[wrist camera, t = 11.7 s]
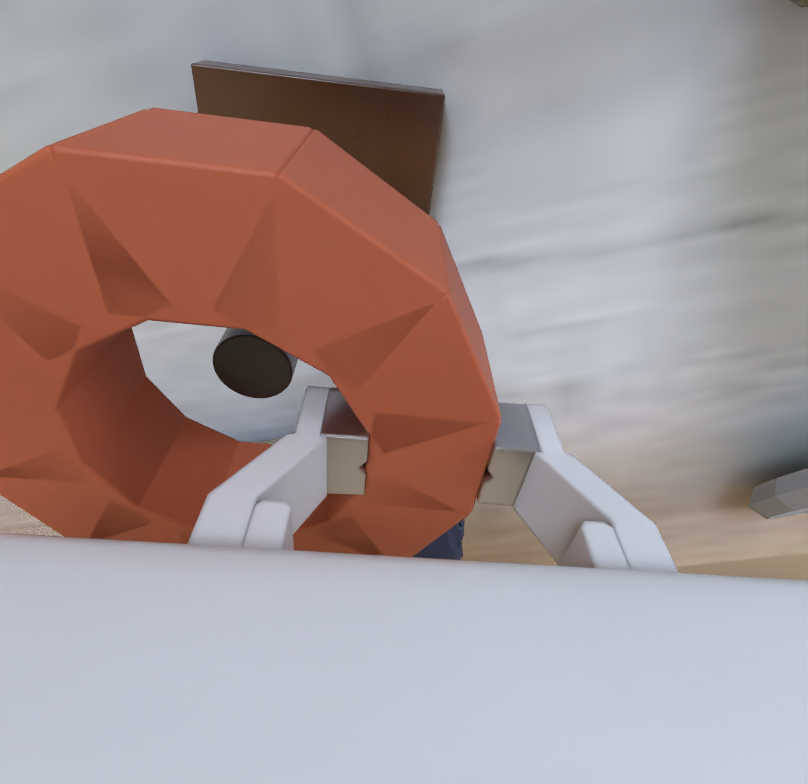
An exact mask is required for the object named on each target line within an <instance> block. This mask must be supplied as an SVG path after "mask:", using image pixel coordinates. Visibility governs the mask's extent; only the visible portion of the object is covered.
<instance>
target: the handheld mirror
mask: <svg viewBox="0 0 808 784" xmlns="http://www.w3.org/2000/svg"><path fill="white" fill-rule="evenodd" d="M749 508H751V509H752V510H754V511H755V512H757V513H758V514H760V515H761V516H763V517H764V518H766V519H772V518H780V517H785V516H791V515H796V514H802V513H807V512H808V468H807V469H803V470H800V471H797V472H794V473H791V474H787V475H784V476H781V477H778V478H775V479H772V480H770V481H767V482H765V483H762V484H760V485H757V486H755V487H754V489H753V490H752V494H751V498H750V502H749Z"/></svg>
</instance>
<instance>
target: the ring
mask: <svg viewBox="0 0 808 784" xmlns="http://www.w3.org/2000/svg"><path fill="white" fill-rule="evenodd" d="M147 320H153V321H164V322H174V323H184V324H195V325H205V326H216V327H226V328H236V329H245V330H247V331H249V332H251V333H253V334H255V335H256V336H258V337H260V338H262V339H264V340H265V341H267V342H269V343H271V344H273V345H274V346H276V347H278V348H280V349H282V350H284V351H285V352H287V353H289V354H291V355H293V356H294V357H296V358H298V359H300V360H302V361H304V362H305V363H307V364H309V365H311V366H313V367H314V368H316V369H318V370H320V371H322V372H324V373H325V374H327V375H329V376H330V377H331V379H332V380H333V382H334V383H335V385H336V386H337V388H338V389H339V391H340V392H341V394H342V395H343V397H344V398H345V400H346V401H347V403H348V404H349V406H350V407H351V409H352V410H353V412H354V413H355V415H356V416H357V418H358V419H359V421H360V422H361V423H362V425H363V426H364V428H365V429H366V431H367V432H369V438H368V453H367V461H366V462H365V466H366V478H365V489H364V495H354V494H329V493H327V496H326V497H325V498H324V500H323V501H322V502H321V503H320V504H319V505H318V506H317V508H316V509H315V510H314V511H313V512H312V513H311V515H310V516H309V517H308V518H307V519H306V520H305V521H304V523H303V524H302V525H301V526H300V527H299V528H298V529H297V531H296V532H295V533H294V534H293V543H294V550H299V551H316V552H333V553H350V554H367V555H384V556H401V557H413V556H414V555H415V554H417V553H418V552H419V551H421V550H422V549H423V548H425V547H426V546H427V545H429V544H430V543H432V542H433V541H434V540H436V539H437V538H438V537H440V536H441V535H442V534H444V533H445V532H446V531H448V530H449V529H450V528H452V527H453V526H455V525H456V524H457V523H459V522H460V521H461V520H463V519H464V518H465V517H467V516H468V515H469V514H470V512H472V509H473V506H474V503H475V500H476V497H477V493H478V490H479V486H480V483H481V480H482V477H483V475H484V473H485V469H486V466H487V461H488V458H489V455H490V452H491V449H492V446H493V443H494V441H495V439H496V436H497V433H498V430H499V427H500V424H501V413H500V408H499V404H498V400H497V395H496V391H495V387H494V383H493V378H492V374H491V370H490V365H489V361H488V357H487V352H486V348H485V344H484V339H483V335H482V331H481V329H480V326H479V324H478V321H477V319H476V316H475V314H474V311H473V308H472V306H471V303H470V301H469V298H468V296H467V293H466V290H465V288H464V285H463V283H462V280H461V278H460V275H459V272H458V270H457V267H456V265H455V262H454V260H453V257H452V254H451V252H450V249H449V247H448V244H447V242H446V239H445V237H444V234H443V231H442V229H441V227H440V226H439V225H438V223H437V221H436V220H434V219H433V218H432V217H430V216H429V215H428V214H426V213H425V212H424V211H423V210H421V209H420V208H419V207H417V206H416V205H415V204H413V203H412V202H411V201H409V200H408V199H407V198H406V197H404V196H403V195H402V194H400V193H399V192H398V191H396V190H395V189H394V188H392V187H391V186H390V185H389V184H387V183H386V182H385V181H383V180H382V179H381V178H379V177H378V176H377V175H376V174H374V173H373V172H372V171H370V170H369V169H368V168H366V167H365V166H364V165H362V164H361V163H360V162H359V161H357V160H356V159H355V158H353V157H352V156H351V155H349V154H348V153H347V152H345V151H344V150H343V149H342V148H340V147H339V146H338V145H336V144H335V143H334V142H332V141H331V140H330V139H328V138H327V137H326V136H325V135H323V134H322V133H321V132H319V131H318V130H313V129H311V128H310V127H304V126H296V125H288V124H280V123H272V122H264V121H256V120H248V119H240V118H232V117H224V116H216V115H208V114H200V113H192V112H184V111H176V110H168V109H160V108H151V109H149V110H142V111H139V112H136V113H134V114H131V115H128V116H125V117H123V118H120V119H117V120H115V121H112V122H109V123H107V124H104V125H101V126H99V127H96V128H93V129H91V130H88V131H85V132H83V133H80V134H77V135H75V136H72V137H69V138H67V139H64V140H61V141H59V142H56V143H53V144H51V145H48V146H45V147H44V148H42V149H40V150H39V151H37V152H36V153H34V154H32V155H31V156H29V157H27V158H26V159H24V160H23V161H21V162H19V163H18V164H16V165H14V166H13V167H11V168H10V169H8V170H6V171H5V172H3V173H1V174H0V495H2V496H3V497H5V498H6V499H8V500H9V501H11V502H12V503H14V504H15V505H17V506H19V507H20V508H22V509H23V510H25V511H26V512H28V513H29V514H31V515H32V516H34V517H35V518H37V519H38V520H40V521H41V522H43V523H45V524H46V525H48V526H49V527H51V528H52V529H54V530H55V531H57V532H58V533H60V534H61V535H63V536H64V537H79V538H96V539H113V540H130V541H147V542H164V543H181V544H187V543H188V541H189V539H190V536H191V534H192V531H193V529H194V527H195V524H196V522H197V519H198V517H199V515H200V512H201V510H202V507H203V505H204V502H205V500H206V498H207V495H208V494H209V493H210V492H211V491H213V490H214V489H215V488H217V487H218V486H219V485H221V484H222V483H223V482H225V481H226V480H227V479H229V478H230V477H231V476H232V475H234V474H235V473H236V472H238V471H239V470H240V469H242V468H243V467H244V466H246V465H247V464H248V463H250V462H251V461H252V460H254V459H255V458H256V457H258V456H259V455H260V454H261V453H263V452H264V451H265V450H267V449H268V448H269V447H271V446H272V445H273V444H265V443H253V442H240V441H237V440H235V439H233V438H231V437H229V436H226V435H224V434H222V433H220V432H218V431H215V430H213V429H211V428H209V427H207V426H204V425H202V424H200V423H198V422H195V421H193V420H191V419H189V418H187V417H185V416H184V414H183V413H182V412H181V411H180V410H179V409H178V408H177V407H176V406H175V405H174V404H173V403H172V402H171V401H170V400H169V399H168V398H167V397H166V396H165V395H164V394H163V393H162V392H161V391H160V390H159V389H158V388H157V387H156V386H155V385H154V384H153V383H152V382H151V381H150V380H149V379H148V378H147V377H146V375H145V371H144V368H143V364H142V361H141V358H140V354H139V351H138V348H137V344H136V341H135V337H134V334H133V331H132V327H134V326H136V325H138V324H140V323H143V322H145V321H147Z"/></svg>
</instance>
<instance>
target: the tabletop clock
mask: <svg viewBox="0 0 808 784" xmlns="http://www.w3.org/2000/svg"><path fill="white" fill-rule="evenodd" d="M791 1H792V2H794V3H796V4H797V5H799V6H800V7H806V6H808V0H791Z"/></svg>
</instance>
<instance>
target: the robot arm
mask: <svg viewBox="0 0 808 784" xmlns="http://www.w3.org/2000/svg"><path fill="white" fill-rule="evenodd" d="M498 404H499V408H500V413H501V424H500V427H499V430H498V433H497V436H496V439H495V441H494V443H493V446H492V449H491V452H490V455H489V458H488V461H487V466H486V469H485V473H484V475H483V477H482V480H481V483H480V486H479V490H478V493H477V502H478V503H488V504H498V505H509V506H513V508H514V510H515V511H516V512H517V513H518V515H519V516H520V517H521V518H522V520H523V521H524V522H525V523H526V525H527V526H528V527H529V528H530V530H531V531H532V532H533V533H534V535H535V536H536V537H537V539H538V540H539V541H540V542H541V544H542V545H543V546H544V547H545V549H546V550H547V551H548V552H549V554H550V555H551V556H552V557H553V559H554V560H555V561H556V562H557V564H558V566H553V565H536V564H519V563H502V562H485V561H468V560H451V559H434V558H417V557H401V556H384V555H367V554H350V553H333V552H316V551H299V550H294V543H293V534H294V533H295V532H296V531H297V529H298V528H299V527H300V526H301V525H302V524H303V523H304V521H305V520H306V519H307V518H308V517H309V516H310V515H311V513H312V512H313V511H314V510H315V509H316V508H317V506H318V505H319V504H320V503H321V502H322V501H323V500H324V498H325V497H326V496H327V493H329V494H354V495H364V489H365V478H366V466H365V462H366V461H367V453H368V438H369V432H367V431H366V429H365V428H364V426H363V425H362V423H361V422H360V421H359V419H358V418H357V416H356V415H355V413H354V412H353V410H352V409H351V407H350V406H349V404H348V403H347V401H346V400H345V398H344V397H343V395H342V394H341V392H340V391H339V389H338V388H326V387H315V386H308V387H307V389H306V391H305V395H304V399H303V403H302V406H301V410H300V414H299V418H298V422H297V425H296V429H295V433H294V434H287V435H285V436H284V437H283V438H281V439H280V440H279V441H277V442H276V443H275V444H273V445H272V446H271V447H269V448H268V449H267V450H265V451H264V452H263V453H261V454H260V455H259V456H258V457H256V458H255V459H254V460H252V461H251V462H250V463H248V464H247V465H246V466H244V467H243V468H242V469H240V470H239V471H238V472H236V473H235V474H234V475H232V476H231V477H230V478H229V479H227V480H226V481H225V482H223V483H222V484H221V485H219V486H218V487H217V488H215V489H214V490H213V491H211V492H210V493H209V494H208V495H207V498H206V500H205V502H204V505H203V507H202V510H201V512H200V515H199V517H198V519H197V522H196V524H195V527H194V529H193V531H192V534H191V536H190V539H189V541H188V543H187V544H181V543H164V542H147V541H130V540H113V539H96V538H79V537H62V536H45V535H28V534H10V533H0V784H808V581H805V580H789V579H772V578H755V577H738V576H737V577H736V576H721V575H704V574H686V573H679V572H678V570H677V568H676V566H675V564H674V561H673V559H672V557H671V555H670V553H669V551H668V549H667V547H666V545H665V543H664V541H663V539H662V537H661V535H660V533H659V531H658V529H657V526H656V524H655V523H653V522H652V521H651V520H650V519H649V518H647V517H646V516H645V515H644V514H642V513H641V512H640V511H639V510H638V509H636V508H635V507H634V506H633V505H632V504H630V503H629V502H628V501H627V500H626V499H624V498H623V497H622V496H621V495H620V494H618V493H617V492H616V491H615V490H614V489H612V488H611V487H610V486H609V485H608V484H606V483H605V482H604V481H603V480H601V479H600V478H599V477H598V476H597V475H595V474H594V473H593V472H592V471H591V470H589V469H588V468H587V467H586V466H585V465H583V464H582V463H581V462H580V461H579V460H577V459H576V458H575V457H574V456H573V455H570V454H565V452H564V449H563V446H562V444H561V441H560V438H559V436H558V433H557V430H556V427H555V425H554V422H553V419H552V417H551V414H550V411H549V409H548V407H547V406H546V405H538V404H514V403H501V402H498Z"/></svg>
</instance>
